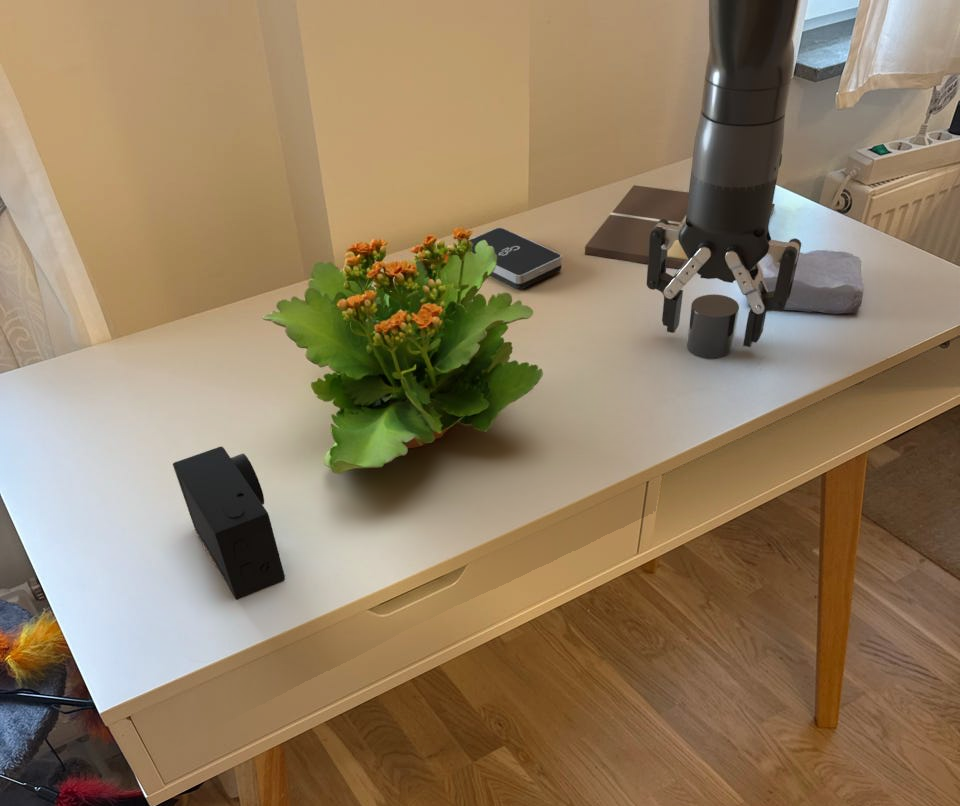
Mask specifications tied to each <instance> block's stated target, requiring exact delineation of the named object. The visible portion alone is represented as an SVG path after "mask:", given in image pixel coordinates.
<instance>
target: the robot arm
mask: <svg viewBox="0 0 960 806" xmlns="http://www.w3.org/2000/svg"><path fill="white" fill-rule="evenodd" d="M798 6H799V0H708V39H709V40H708V41H709V42H708V43H709V47H708V48H709V49H708V55H707V62H706V65H705V73H704V81H703V90H702V98H701V107H700V108H701V110H700V115H699V119H698V124H697V128H696V132H695V136H694V142H693V143H694V144H693V151H692V160H691V168H690V169H691V170H690V179H689V187H688V192H689V195H688V204H687V213H686V221H685V224H684V226H683V227H681V226H674V225H669V222H668V221H667V220H666V219H661V220H659V222H658V223H657V224H656V226H655V227H654V229H653V230H652V231H651V233H650V240H649V255H648V264H647V270H646V271H647V272H646V286H647V288H648V289H650V290H652V291H654V290H657V291H659V292H660V293H661V294H662V295H663V306H662V316H661V322H662V325H663V327H664V326H665V327H666V332H667V333H672V334H675V332H676V330H677V329H678V327H679V326H680V325H679V324H680V321H681V313H682V303H683V297H684V296H683V295H684V290H683V288H684V287H685V286H686V285H687V284H688V282H690V280H691V279H692V278H693V277H694V276H695V275H696V273H697V274H698V275H699V276H700V279H706V280H713V279H718V280H720V281H722V282H724V283H730V284H731V283H732V284H733V283H734V281H736V283H737V286H738V288H739V290H740V292H741V294H742V295H743V296H745V297H746V301H747V300H748V301H747V303H748V302H749V304H750V305H749V304H748V305H749V306H750V309H749V311H748V314H747V321H746V326H745V332H744V337H743V343H742V346H743V347H745V348H751V347H752V345H753V343H758V341H759V339H760V338H761V336H762V334H763V331H764V326H765V320H766V317H767V312H768V311H776V312H782V311H783V309H784V307H785V305H786V302H787V300H788V298H789V296H790V293H791V289H792V284H793V280H794V275H795V271H796V267H797V262H798V258H799V253H801V249H802V242H801V240H800V239H799V238H791V239H789V241H787V242H786V241H783V240H776V239H772V237H771V234H770V228H769V227H770V222H771V221H770V220H771V217H770V215H771V210H772V204H774V198H775V192H776V186H777V181H778V175H779V169H780V167H781V164H782V160H783V153H782V152H783V147H784V139H785V138H784V137H785V119H786V111H787V105H788V99H789V93H790V87H791V82H792V77H793V70H794V64H795V63H794V62H795V45H794V41H793V33H794V30H795V29H794V28H795V23H796V18H797V17H796V16H797V11H798ZM771 216H772V215H771ZM676 240H679V243H680V245H681V247H682V249H683V250H684V252H685V254H686V256H687V258H688V259H687V260H686V262H685V263H684V264H683V266H682V267H681V268H680V269H677V271H676V272H675V273H674V275H671V274H669V273H668V272H667V267H666V263H667V251H668V250H669V249H670V248H671V247H672V245H673V244H674V241H676ZM767 253H768V254H770V255H771V256H772V257H773V264H774V266H776V267H777V268H779V273H778V278H777V282H776V287H775V291H771V292H769V291H768V289H767V286H766V284H765V282H764V279H763V272H762V270H761V268H760V266H759V263H758V262H759V261H760V260H761V259H762V258H763V257H765V256H766V254H767Z"/></svg>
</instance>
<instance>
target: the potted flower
mask: <svg viewBox="0 0 960 806" xmlns="http://www.w3.org/2000/svg"><path fill="white" fill-rule="evenodd" d="M473 233H474V231H473V230H472V229H468V230H466V229H465V227H461V228H459V227H454V229H452V234H451V237H453V238H452V239H453V240H456V241H457V243H455V242H453V244H449V245H445V244H446V243H445V240H444V239H443V238H440V239H439V240H438V239H437V238H436V237H435V235H434V234H429V235H427V236H426V237H424V239H423V240H422V242H421V243H422V244H419V245H415V246H413V248H412V249H410V250H409V252H410V253H412V254H416V255H414V256H413V260H409V259H408V260H401V261H393V260H392V261H389V262H388V261H387V260H384V259H385V258H386V256H387V248H386V246H387V245H388V244H389V241H387V240H385V239H380V238H379V239H376V238H372V240H371V241H370V242H369V243H368V242H367V241H366V242H362V241H358V242H356V243H355V244H352V245H351V247H349V248H347V249H346V254H344V257H345V261H344V265H343V269H342V271H341V270H340V268H339V267H338V266H336V264H335V263H333V262H332V261H326V262H324V261H315V263H313V265H312V268H311V270H310V271H309V273H310V274H309V275H310V276H311V278H312V279H309V280H307V286H308V287H307V288H306V289H305V291H304V299H300V298H299V297H298V296H294V295H293V296H292V297H291V299H290V300H288V299H285V298H284V299H281V300H278V301H277V302H276V305H275V307H276V309H277V310H278V311H276V310H272V311H271V312H270V313H268V314H265V315H264V316H262V319H263V320H264V321H266V322H267V321H268V322H272V323H273V324H275V325H277V326H280V327H282V328H285V329H284V332H285V334H286V336H287V337H288V338H289V339H290V340H291V341H293V342H294V343H295V345H296V346H297V347H298V348H300V349H306V350H305V353H304V355H305V358H306V359H307V360H308V361H309V362H310V363H312V364H313V365H317V366H318V367H319V368H325V367H327V366H328V368H329V369H330V370H331V371H333V373H325V374H324V375H323V378H324V380H323V379H321V378H320V377H318V378H317V379H316V381H312V382H311V383H310V387H311V389H312V391H313V394H314V395H316V398H317V399H318V400H321V401H322V402H324V403H328V402H332V404H333V406H335V407H336V408H338V409H339V410H337V412H336V413H335V414H333V413H331V414H330V417H331V419H332V421H333V423H334V424H335V425H334V424H332V423H331V424H330V433H331V437H332V439H333V441H334V443H333V445H332V446H331V447H330V449H329V450H328V452H327V453H326V454H325V456H324V458H323V464H324V466H325V467H327V468H330V469H331V471H332V473H334V474H336V475H339V474H342V473H344V472H346V471H349V470H352V469H372V468H373V469H374V468H375V469H377V468H383V467H384V465H385V464H389V463H391V462H392V461H393V460H394V459H396V458H399V457H400V456H406V455H407V454H408V450H409V449H413V448H418V447H422V446H424V445H426V444H431V443H433V442H434V441H435V440H438V439H440V438H442V437H443V436H444V435H445V433H446V432H447V431H449V430H450V429H451V427H453V426H454V425H456V424H457V423H459V424H460V425H462V426H470V425H471V426H472V427H473V429H475V430H478V432H484V433H485V432H488V431H489V430H490V427H491V426H492V424H493V422H494V420H496V419H497V418H498V416H499V415H500V413H501V411H503V410H504V409H505V408H507V407H508V406H509V405H510V404H512V403H515V402H517V401H518V400H520V399H521V398H523V397H524V396H525V395H526V394H529V393H530V392H531V391H532V390H533V389H534V388H535V387H536V386H537V385H538V384H539V382H540V380H541V379H542V378H543V376H544V372H543V368H539V366H538V364H530V363H529V362H527V361H525V362H521V363H519V361H518V360H516V359H514V360H511V361H509V360H510V358H511V355H512V353H513V349H514V348H513V346H512V345H513V343H512V342H511V341H506V342H505V338H504V337H503V335H505V333H506V332H507V331H508V329H509V326H508V325H509V324H512V323H514V322H517V321H521V320H528V319H530V318H532V316H534V309H533V308H532V307H530V306H529V305H526V304H525V305H524V304H523V303H522V300H519V299H518V300H516V301H515V302H513V297H512V294H511V293H510V292H508V291H505V292H501V293H497V295H496V294H491V296H490V297H489V300H488V301H487V299H486V296H484V295H483V294H482V293H478V292H479V291H480V289H481V288H482V285H483V284H484V282H485V281H487V279H488V278H489V277H491V276H490V275H491V274H492V272H493V271H494V269H495V267H496V263H497V262H496V261H497V259H498V258H497V255H496V254H495V251H494V248H493V247H492V246H488V243H487V242H486V240H483V241H480V242H478V244H477V245H476V246H475V251H476V254H473V253H472V246H473V243H472V242H470V241H468V240H470V239H471V236H472V234H473ZM437 240H438V241H437ZM382 269H383V271H381V270H382ZM373 282H374V285H373ZM372 285H373V286H372ZM512 302H513V303H512Z"/></svg>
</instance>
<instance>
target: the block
mask: <svg viewBox="0 0 960 806" xmlns="http://www.w3.org/2000/svg"><path fill="white" fill-rule="evenodd" d="M758 263H759V266H760V268H761V270H762V272H763V279H764V282H765V284H766V286H767V289H768V291H769V292H771V291H775V287H776V282H777V278H778V273H779V268H777V267H776V266H774V264H773V257H772V256H771V255H770V254H768V253H767V254H766V256H765V257H763V258H762V259H761V260H760V261H759V262H758ZM863 297H864V283H863V277H862V260H861V258H860V257H859V256H856V255H854V253H849V252H846V251H833V250H827V249H826V250H824V249H816V250H811V251H808V252H800V253H799V258H798V262H797V267H796V271H795V275H794V280H793V284H792V289H791V293H790V296H789V298H788V300H787V302H786V305H785V307H784V309H783V310H785V311H797V312H808V313H810V312H818V313H823V314H831V315H840V314H855V313H856V312H857V311H858V310H859V309H860V308H861V307H862V304H863V299H864V298H863ZM746 301H747V304H748V305H749V306H750V304H749V302H748V300H747V299H746ZM783 310H782V311H783Z"/></svg>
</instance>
